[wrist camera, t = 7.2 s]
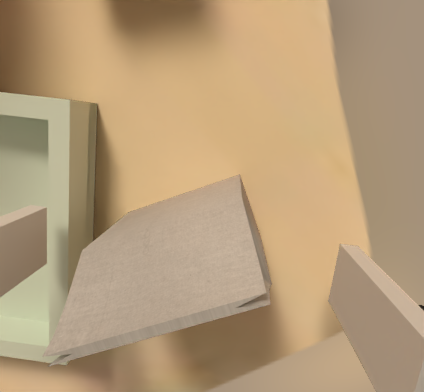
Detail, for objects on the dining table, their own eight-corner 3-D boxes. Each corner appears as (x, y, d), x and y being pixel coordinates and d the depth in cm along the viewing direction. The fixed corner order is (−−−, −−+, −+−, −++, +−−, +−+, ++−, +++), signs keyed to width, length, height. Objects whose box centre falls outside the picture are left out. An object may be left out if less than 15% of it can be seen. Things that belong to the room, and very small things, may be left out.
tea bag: (128, 212, 19) (15, 304, 9) (239, 174, 18) (245, 232, 8) (152, 268, 20) (69, 411, 10) (260, 234, 19) (288, 355, 9)
